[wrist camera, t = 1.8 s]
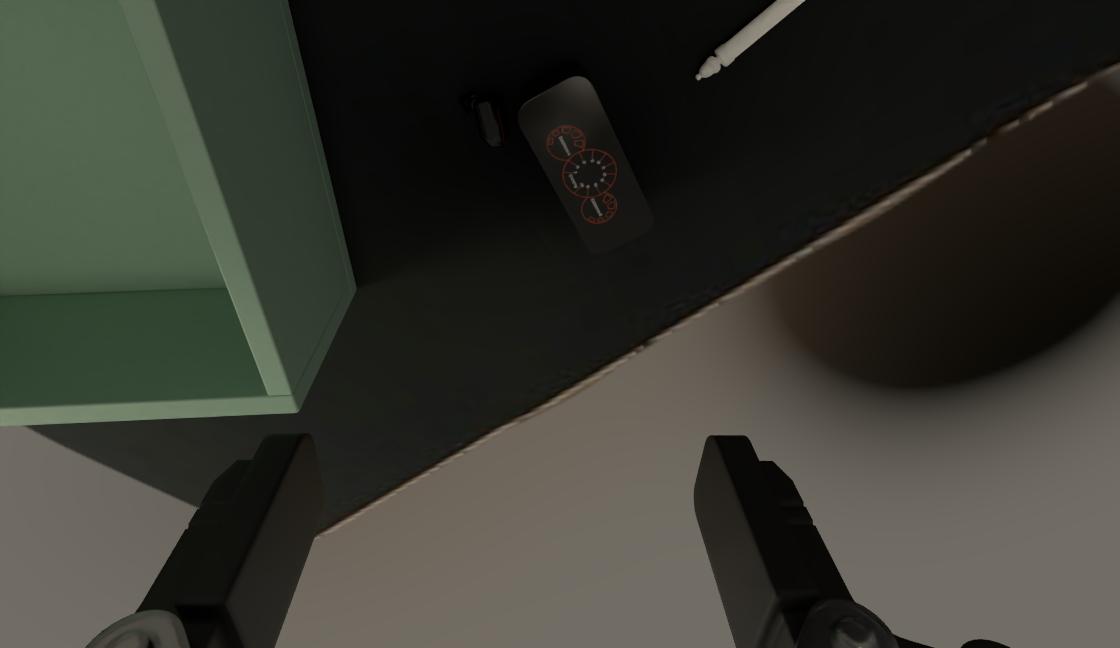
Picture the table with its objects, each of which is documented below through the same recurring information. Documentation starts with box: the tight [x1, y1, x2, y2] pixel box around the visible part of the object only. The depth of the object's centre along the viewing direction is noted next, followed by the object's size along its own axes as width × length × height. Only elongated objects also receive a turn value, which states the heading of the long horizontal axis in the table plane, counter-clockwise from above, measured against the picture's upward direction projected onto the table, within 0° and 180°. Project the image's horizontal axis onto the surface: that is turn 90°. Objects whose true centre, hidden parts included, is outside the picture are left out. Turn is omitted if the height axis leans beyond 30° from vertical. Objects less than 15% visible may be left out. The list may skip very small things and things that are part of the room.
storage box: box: [0, 0, 357, 426], centre depth 19 cm, size 16×13×8 cm
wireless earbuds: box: [459, 62, 653, 254], centre depth 22 cm, size 5×7×3 cm, turn 27°
